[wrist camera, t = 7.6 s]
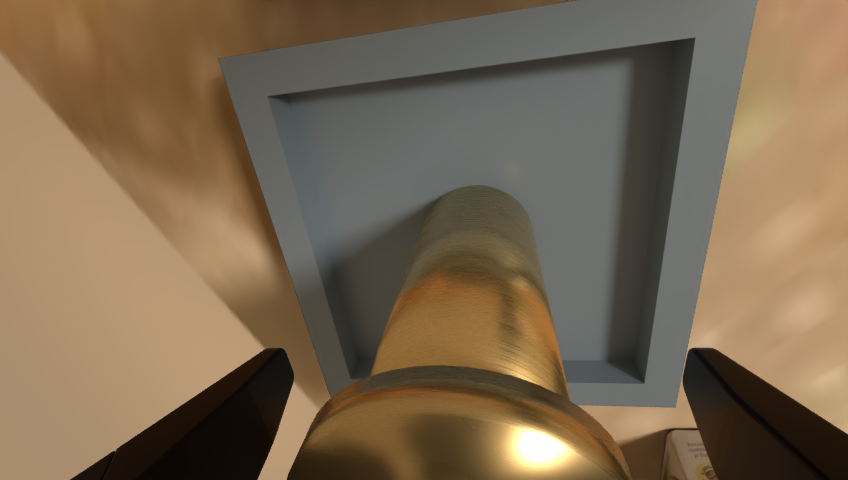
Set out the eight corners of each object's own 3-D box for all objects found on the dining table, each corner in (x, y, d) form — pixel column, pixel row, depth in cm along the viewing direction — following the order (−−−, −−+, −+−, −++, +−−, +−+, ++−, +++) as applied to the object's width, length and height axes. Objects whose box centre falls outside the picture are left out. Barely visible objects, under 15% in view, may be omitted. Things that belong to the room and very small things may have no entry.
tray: (718, -20, 11) (763, -31, 9) (656, 368, 17) (675, 407, 15) (253, 55, 13) (217, 58, 12) (345, 365, 20) (331, 398, 18)
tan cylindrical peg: (550, 160, 13) (677, 422, 4) (550, 294, 15) (631, 643, 6) (394, 175, 14) (234, 409, 5) (417, 298, 16) (331, 604, 7)
